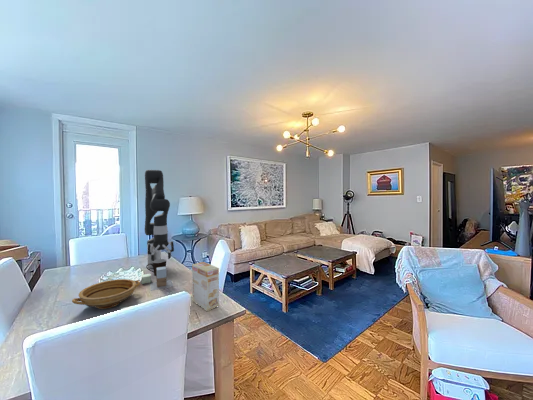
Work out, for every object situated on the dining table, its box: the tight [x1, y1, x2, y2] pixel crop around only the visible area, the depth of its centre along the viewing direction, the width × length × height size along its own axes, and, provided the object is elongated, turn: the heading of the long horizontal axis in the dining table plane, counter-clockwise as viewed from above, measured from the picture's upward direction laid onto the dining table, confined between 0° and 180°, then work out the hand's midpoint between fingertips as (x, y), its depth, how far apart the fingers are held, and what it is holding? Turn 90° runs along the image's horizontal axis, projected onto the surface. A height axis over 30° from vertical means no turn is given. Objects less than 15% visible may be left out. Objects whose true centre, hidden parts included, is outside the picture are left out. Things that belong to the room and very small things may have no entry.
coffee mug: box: [146, 258, 167, 277], centre depth 157 cm, size 12×9×10 cm
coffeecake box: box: [191, 261, 220, 312], centre depth 117 cm, size 15×7×20 cm, turn 44°
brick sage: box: [141, 273, 152, 285], centre depth 144 cm, size 5×5×5 cm
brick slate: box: [156, 265, 167, 280], centre depth 139 cm, size 5×5×5 cm
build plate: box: [149, 279, 174, 291], centre depth 139 cm, size 12×12×1 cm
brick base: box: [156, 276, 167, 287], centre depth 139 cm, size 5×5×5 cm
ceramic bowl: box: [71, 278, 141, 310], centre depth 118 cm, size 30×24×8 cm
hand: (161, 259), depth 138 cm, fingers open, 8 cm apart
